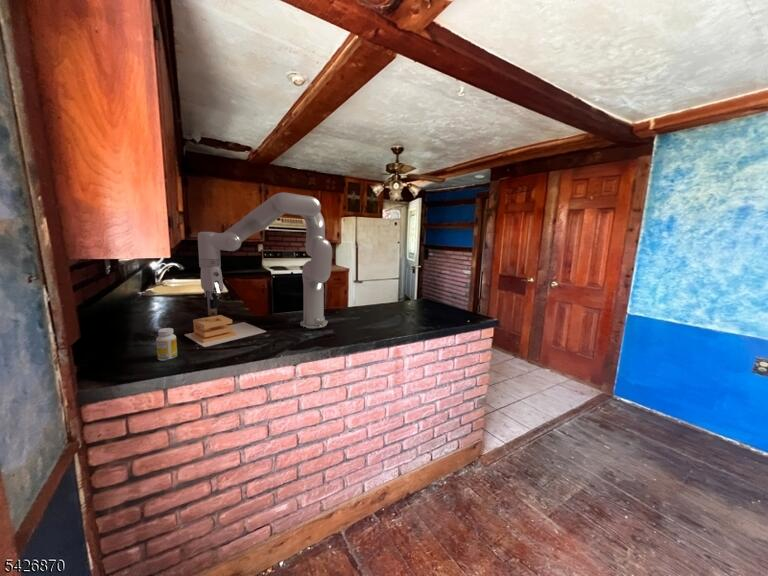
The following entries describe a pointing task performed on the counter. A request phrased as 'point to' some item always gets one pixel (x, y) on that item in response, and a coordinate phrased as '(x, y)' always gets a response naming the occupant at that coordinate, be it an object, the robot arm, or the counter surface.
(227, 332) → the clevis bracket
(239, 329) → the mat
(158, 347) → the supplement bottle
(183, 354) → the counter surface
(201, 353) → the counter surface
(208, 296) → the pin
